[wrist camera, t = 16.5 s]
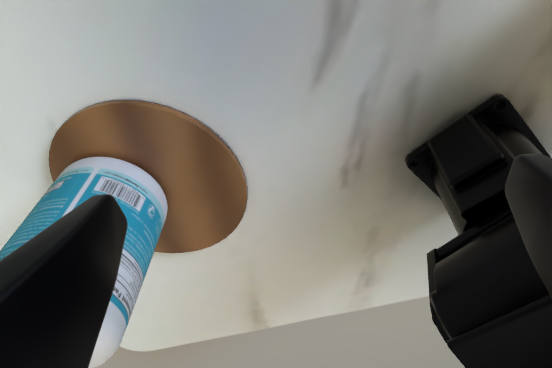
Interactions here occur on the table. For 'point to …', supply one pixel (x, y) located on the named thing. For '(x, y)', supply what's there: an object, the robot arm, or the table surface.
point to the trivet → (163, 166)
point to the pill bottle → (139, 237)
